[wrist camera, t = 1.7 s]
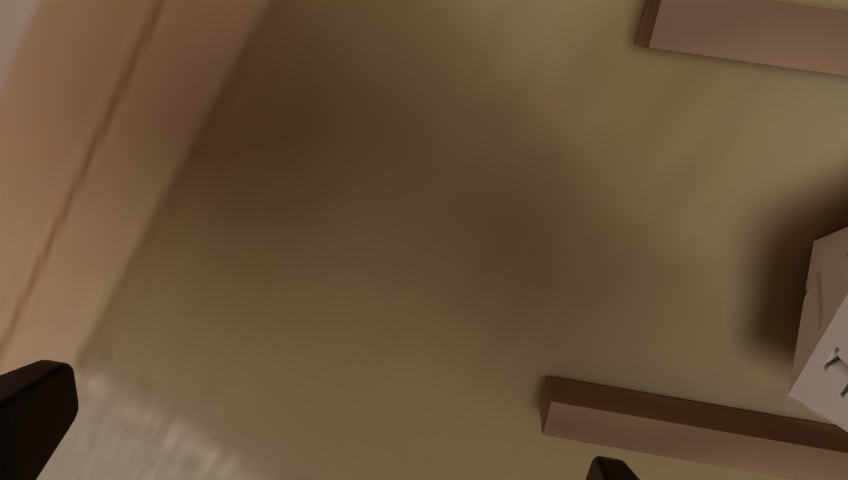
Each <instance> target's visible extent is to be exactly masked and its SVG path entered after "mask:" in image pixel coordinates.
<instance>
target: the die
mask: <svg viewBox="0 0 848 480" xmlns="http://www.w3.org/2000/svg"><path fill="white" fill-rule="evenodd" d="M806 290H807V294H806V296H805V298H804V302H803V308H802V314H801V320H800V326H799V332H798V338H797V344H796V350H795V356H794V362H793V368H792V375H791V381H790V387H789V393H788V395H789V396H790V397H792V398H794V399H795V400H797V401H798V402H800V403H802V404H803V405H805V406H807V407H808V408H810V409H811V410H813V411H815V412H816V413H818V414H819V415H821V416H823V417H824V418H826V419H828V420H829V421H831V422H832V423H834V424H836V425H837V426H839V427H840V428H842V429H844V430H845V431H847V432H848V227H846V228H844V229H841V230H839V231H837V232H834V233H832V234H829V235H827V236H825V237H822V238H820V239H817V240H815V241H814V242H813V248H812V254H811V260H810V266H809V272H808V278H807V284H806Z"/></svg>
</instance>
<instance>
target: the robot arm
mask: <svg viewBox="0 0 848 480" xmlns="http://www.w3.org/2000/svg"><path fill="white" fill-rule="evenodd" d="M77 412H78V397H77V390H76V383H75V377H74V371H73V368H72V367H71V366H70V365H69V364H67V363H63V362H57V361H51V360H40V361H37V362H35V363H32V364H29V365H27V366H24V367H21V368H19V369H16V370H13V371H11V372H8V373H5V374H3V375H0V480H36V479H37V478H38V476H39V475H40V473H41V471H42V470H43V468H44V467H45V465H46V464H47V462H48V461H49V459H50V457H51V456H52V454H53V453H54V451H55V450H56V448H57V446H58V445H59V443H60V442H61V440H62V439H63V437H64V436H65V434H66V432H67V431H68V429H69V428H70V426H71V425H72V423H73V421H74V420H75V417H76V415H77ZM586 480H640V479H639V478H638V477H637V476H636V475H635V474H634V472H633V471H632V470H631V469H630V468H629V467H628V465H627V464H626V463H625V462H623V461H622V460H619V459H614V458H608V457H603V456H597V457H595V458H594V459H593V461H592V463H591V466H590V469H589V471H588V474H587V477H586Z"/></svg>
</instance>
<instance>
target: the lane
mask: <svg viewBox="0 0 848 480" xmlns="http://www.w3.org/2000/svg"><path fill="white" fill-rule="evenodd" d="M635 44H637V45H641V46H645V47H648V48H655V49H662V50H669V51H676V52H683V53H690V54H697V55H704V56H711V57H718V58H725V59H732V60H739V61H746V62H753V63H760V64H767V65H774V66H781V67H788V68H795V69H802V70H809V71H816V72H823V73H830V74H837V75H844V76H848V12H842V11H834V10H827V9H820V8H813V7H805V6H798V5H791V4H784V3H776V2H769V1H762V0H647V1H646V5H645V9H644V13H643V17H642V20H641V24H640V28H639V32H638V35H637V39H636V43H635ZM539 410H540V418H541V426H542V434H543V435H548V436H554V437H559V438H565V439H571V440H576V441H582V442H588V443H593V444H599V445H604V446H610V447H616V448H621V449H627V450H633V451H638V452H644V453H650V454H655V455H661V456H667V457H672V458H678V459H683V460H689V461H695V462H700V463H706V464H712V465H717V466H723V467H729V468H734V469H740V470H746V471H751V472H757V473H763V474H768V475H774V476H779V477H785V478H791V479H796V480H848V432H847V431H845V430H844V429H842V428H840V427H839V426H834V425H828V424H823V423H817V422H811V421H805V420H799V419H794V418H788V417H782V416H776V415H770V414H764V413H759V412H753V411H747V410H741V409H735V408H730V407H724V406H718V405H712V404H706V403H701V402H695V401H689V400H683V399H677V398H672V397H666V396H660V395H654V394H648V393H642V392H637V391H631V390H625V389H619V388H613V387H608V386H602V385H596V384H590V383H584V382H579V381H573V380H567V379H561V378H555V377H550V376H547V380H546V384H545V387H544V391H543V395H542V399H541V403H540V406H539Z"/></svg>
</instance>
